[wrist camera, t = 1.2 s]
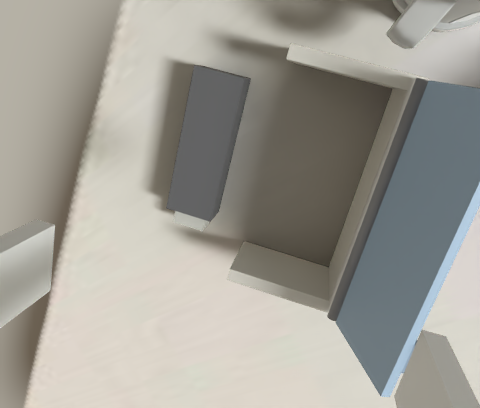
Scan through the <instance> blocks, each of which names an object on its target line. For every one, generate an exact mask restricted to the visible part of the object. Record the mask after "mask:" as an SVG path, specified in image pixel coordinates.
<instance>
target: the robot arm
mask: <svg viewBox="0 0 480 408" xmlns="http://www.w3.org/2000/svg"><path fill="white" fill-rule="evenodd" d="M54 230H55V225H53V224H50V223H47V222H43V221H40V220H34V221H31V222H30V223H28V224H25V225H23V226H21V227H19V228H17V229H15V230H12V231H10V232H8V233H6V234H4V235H2V236H0V328H1V327H3V326H4V325H5V324H7V323H8V322H9V321H11V320H12V319H13V318H14V317H16V316H17V315H19V314H20V313H21V312H22V311H24V310H25V309H26V308H28V307H29V306H30V305H32V304H33V303H34V302H36V301H37V300H38V299H39V298H41V297H42V296H44V295H45V294H46V293H48V292H49V291H50V289H51V275H52V260H53V245H54ZM394 397H395V401H396V405H397V408H480V405H479V403H478V401H477V399H476V397H475V395H474V393H473V391H472V389H471V387H470V385H469V383H468V381H467V378H466V376H465V374H464V372H463V370H462V368H461V366H460V364H459V362H458V360H457V358H456V356H455V354H454V352H453V350H452V348H451V346H450V344H449V342H448V340H447V338H446V336H442V335H439V334H435V333H432V332H428V331H425V330H422V331H421V333H420V336H419V338H418V340H417V343H416V345H415V348H414V350H413V352H412V355H411V357H410V360H409V362H408V364H407V367H406V369H405V372H404V374H403V377H402V379H401V381H400V384H399V386H398V389H397V391H396V393H395V396H394Z"/></svg>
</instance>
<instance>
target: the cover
mask: <svg viewBox="0 0 480 408" xmlns="http://www.w3.org/2000/svg"><path fill="white" fill-rule="evenodd" d="M479 206H480V88H474V87H467V86H461V85H455V84H448V83H442V82H436V81H428V80H425V79H420V78H416V80H415V83H414V85H413V88H412V91H411V93H410V96H409V99H408V101H407V104H406V107H405V109H404V112H403V115H402V117H401V120H400V123H399V125H398V128H397V131H396V133H395V136H394V139H393V141H392V144H391V147H390V149H389V152H388V155H387V157H386V160H385V163H384V165H383V168H382V171H381V173H380V176H379V179H378V182H377V184H376V187H375V190H374V192H373V195H372V198H371V200H370V203H369V206H368V208H367V211H366V214H365V216H364V219H363V222H362V224H361V227H360V230H359V232H358V235H357V238H356V240H355V243H354V246H353V248H352V251H351V254H350V256H349V259H348V262H347V264H346V267H345V270H344V272H343V275H342V278H341V280H340V283H339V286H338V288H337V291H336V294H335V297H334V299H333V302H332V305H331V307H330V310H329V313H328V315H327V316H328V318H329V319H331V320H333V321H336V324H337V326H338V327H339V329H340V330H341V332H342V334H343V335H344V337H345V339H346V340H347V342H348V344H349V345H350V347H351V348H352V350H353V352H354V353H355V355H356V357H357V358H358V360H359V362H360V363H361V365H362V366H363V368H364V370H365V371H366V373H367V375H368V376H369V378H370V379H371V381H372V383H373V384H374V386H375V388H376V389H377V391H378V393H379V394H380V396H382V397H390V395H391V393H392V391H393V389H394V387H395V385H396V383H397V380H398V378H399V376H400V374H401V373H404V372H405V369H406V367H407V364H408V362H409V360H410V357H411V355H412V352H413V350H414V348H415V345H416V343H417V338H418V336H419V334H420V332H421V329H422V327H423V325H424V323H425V321H426V319H427V317H428V315H429V312H430V310H431V308H432V306H433V304H434V302H435V300H436V298H437V295H438V293H439V291H440V289H441V287H442V285H443V283H444V281H445V278H446V276H447V274H448V272H449V270H450V268H451V266H452V264H453V261H454V259H455V257H456V255H457V253H458V251H459V249H460V247H461V244H462V242H463V240H464V238H465V236H466V234H467V232H468V230H469V227H470V225H471V223H472V221H473V219H474V217H475V215H476V213H477V210H478V208H479Z"/></svg>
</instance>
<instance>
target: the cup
mask: <svg viewBox="0 0 480 408" xmlns="http://www.w3.org/2000/svg"><path fill="white" fill-rule="evenodd" d="M392 1H393V4H394V6H395V7H396V8H397V9H398V11H399V12H400V13H401V15H400V17H399V18H398V19H397V20H396V21H395V23H394V24H393V25H392V26H391V28H390V29H389V30H388V32H387V36H388V37H389V38H390V40H391V41H392V42H393V43H395V44H396V45H398V46H400V47H402V48H404V49H408V48H415V47H416V46H417V45H418V44H419V43H420V42H421V41H422V40H423V39H424V38H425V37H426V36H427V35H428V34H429V33H430V32H431V31H438V32H447V31H453V30H460V29H464V28H467V27H469V26H472V25H474V24H476V23H478V22H480V0H392Z"/></svg>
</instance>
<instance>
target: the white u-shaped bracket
mask: <svg viewBox="0 0 480 408" xmlns="http://www.w3.org/2000/svg"><path fill="white" fill-rule="evenodd" d="M286 59H287V60H289V61H291V62H292V63H296V64H299V65H303V66H307V67H311V68H315V69H319V70H323V71H326V72H330V73H334V74H338V75H342V76H346V77H350V78H354V79H357V80H361V81H365V82H369V83H373V84H377V85H381V86H384V87H388V88H392V92H391V95H390V98H389V101H388V103H387V106H386V109H385V112H384V114H383V117H382V120H381V123H380V126H379V128H378V131H377V134H376V137H375V140H374V142H373V145H372V148H371V151H370V154H369V156H368V159H367V162H366V165H365V167H364V170H363V173H362V176H361V179H360V181H359V184H358V187H357V190H356V193H355V195H354V198H353V201H352V204H351V207H350V209H349V212H348V215H347V218H346V220H345V223H344V226H343V229H342V232H341V234H340V237H339V240H338V243H337V246H336V248H335V251H334V254H333V257H332V260H331V262H330V265H329V267H326V266H322V265H319V264H316V263H313V262H310V261H307V260H303V259H300V258H297V257H294V256H291V255H287V254H284V253H281V252H278V251H275V250H271V249H268V248H265V247H262V246H259V245H255V244H252V243H249V242H246V241H244V242H243V244H242V246H241V248H240V250H239V252H238V254H237V256H236V258H235V260H234V262H233V264H232V266H231V268H230V270H229V274H228V278H227V280H229V281H232V282H235V283H238V284H241V285H244V286H247V287H250V288H253V289H256V290H260V291H263V292H266V293H269V294H272V295H275V296H278V297H281V298H284V299H287V300H290V301H293V302H296V303H299V304H302V305H305V306H309V307H312V308H315V309H318V310H321V311H324V312H327V313H329V310H330V307H331V305H332V302H333V299H334V297H335V294H336V291H337V288H338V286H339V283H340V280H341V278H342V275H343V272H344V270H345V267H346V264H347V262H348V259H349V256H350V254H351V251H352V248H353V246H354V243H355V240H356V238H357V235H358V232H359V230H360V227H361V224H362V222H363V219H364V216H365V214H366V211H367V208H368V206H369V203H370V200H371V198H372V195H373V192H374V190H375V187H376V184H377V182H378V179H379V176H380V173H381V171H382V168H383V165H384V163H385V160H386V157H387V155H388V152H389V149H390V147H391V144H392V141H393V139H394V136H395V133H396V131H397V128H398V125H399V123H400V120H401V117H402V115H403V112H404V109H405V107H406V104H407V101H408V99H409V96H410V93H411V91H412V88H413V85H414V83H415V80H416V78H420V79H425V80H429V78H426V77H422V76H418V75H414V74H410V73H406V72H402V71H398V70H394V69H391V68H387V67H383V66H379V65H375V64H371V63H367V62H363V61H359V60H355V59H351V58H347V57H343V56H339V55H335V54H331V53H327V52H324V51H320V50H316V49H312V48H308V47H304V46H300V45H296V44H292V43H290V47H289V50H288V54H287V58H286Z"/></svg>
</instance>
